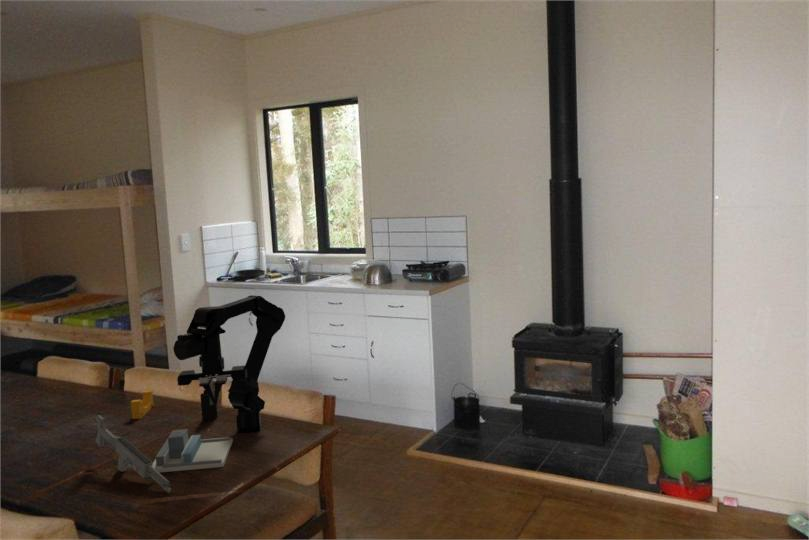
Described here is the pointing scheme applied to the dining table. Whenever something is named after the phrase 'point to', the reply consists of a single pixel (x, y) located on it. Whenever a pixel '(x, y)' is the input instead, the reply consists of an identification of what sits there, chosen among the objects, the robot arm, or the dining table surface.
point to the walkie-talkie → (208, 407)
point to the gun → (129, 455)
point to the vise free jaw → (191, 448)
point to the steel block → (177, 443)
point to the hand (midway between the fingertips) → (215, 404)
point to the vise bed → (196, 456)
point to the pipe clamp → (142, 405)
